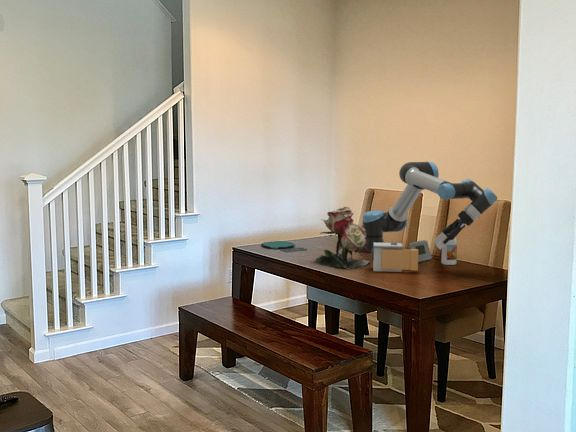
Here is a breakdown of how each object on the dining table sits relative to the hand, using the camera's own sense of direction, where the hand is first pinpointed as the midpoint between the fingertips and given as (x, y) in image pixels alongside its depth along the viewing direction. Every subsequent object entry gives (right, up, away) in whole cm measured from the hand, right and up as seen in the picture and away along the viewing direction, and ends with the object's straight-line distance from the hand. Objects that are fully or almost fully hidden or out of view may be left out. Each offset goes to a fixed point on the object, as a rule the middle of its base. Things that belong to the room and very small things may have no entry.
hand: (436, 245), depth 294 cm
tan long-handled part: (-17, -12, +4) cm, 21 cm away
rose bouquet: (-41, -11, +26) cm, 50 cm away
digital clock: (-1, -10, +33) cm, 34 cm away
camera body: (-22, -13, +10) cm, 28 cm away
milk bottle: (+13, -11, +25) cm, 30 cm away
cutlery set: (-76, -6, +72) cm, 105 cm away
